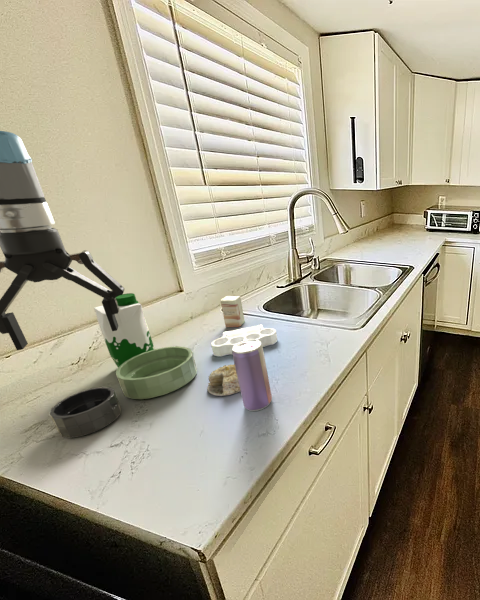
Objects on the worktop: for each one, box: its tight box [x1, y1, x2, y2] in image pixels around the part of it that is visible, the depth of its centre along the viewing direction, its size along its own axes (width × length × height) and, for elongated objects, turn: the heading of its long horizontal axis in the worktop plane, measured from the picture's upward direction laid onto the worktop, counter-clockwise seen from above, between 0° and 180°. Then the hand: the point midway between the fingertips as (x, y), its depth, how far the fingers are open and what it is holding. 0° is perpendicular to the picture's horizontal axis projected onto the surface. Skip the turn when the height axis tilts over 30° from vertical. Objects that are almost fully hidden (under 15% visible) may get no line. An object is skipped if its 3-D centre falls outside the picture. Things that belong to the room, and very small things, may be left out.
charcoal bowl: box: [49, 386, 122, 439], centre depth 68 cm, size 10×10×6 cm
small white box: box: [220, 295, 246, 328], centre depth 112 cm, size 5×4×10 cm
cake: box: [206, 363, 241, 397], centre depth 80 cm, size 10×10×5 cm
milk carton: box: [93, 292, 155, 368], centre depth 86 cm, size 9×9×20 cm
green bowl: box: [115, 345, 198, 400], centre depth 81 cm, size 15×15×6 cm
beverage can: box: [232, 340, 273, 412], centre depth 71 cm, size 6×6×15 cm
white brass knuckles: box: [210, 324, 278, 358], centre depth 100 cm, size 3×18×15 cm
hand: (71, 337), depth 64 cm, fingers open, 13 cm apart
